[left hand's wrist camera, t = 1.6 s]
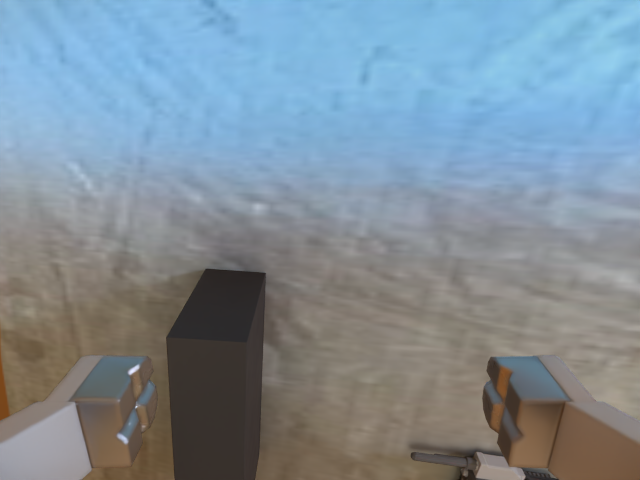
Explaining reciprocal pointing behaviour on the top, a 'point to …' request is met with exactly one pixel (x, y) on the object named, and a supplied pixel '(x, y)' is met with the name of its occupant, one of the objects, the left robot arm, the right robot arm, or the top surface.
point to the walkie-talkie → (482, 467)
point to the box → (217, 377)
